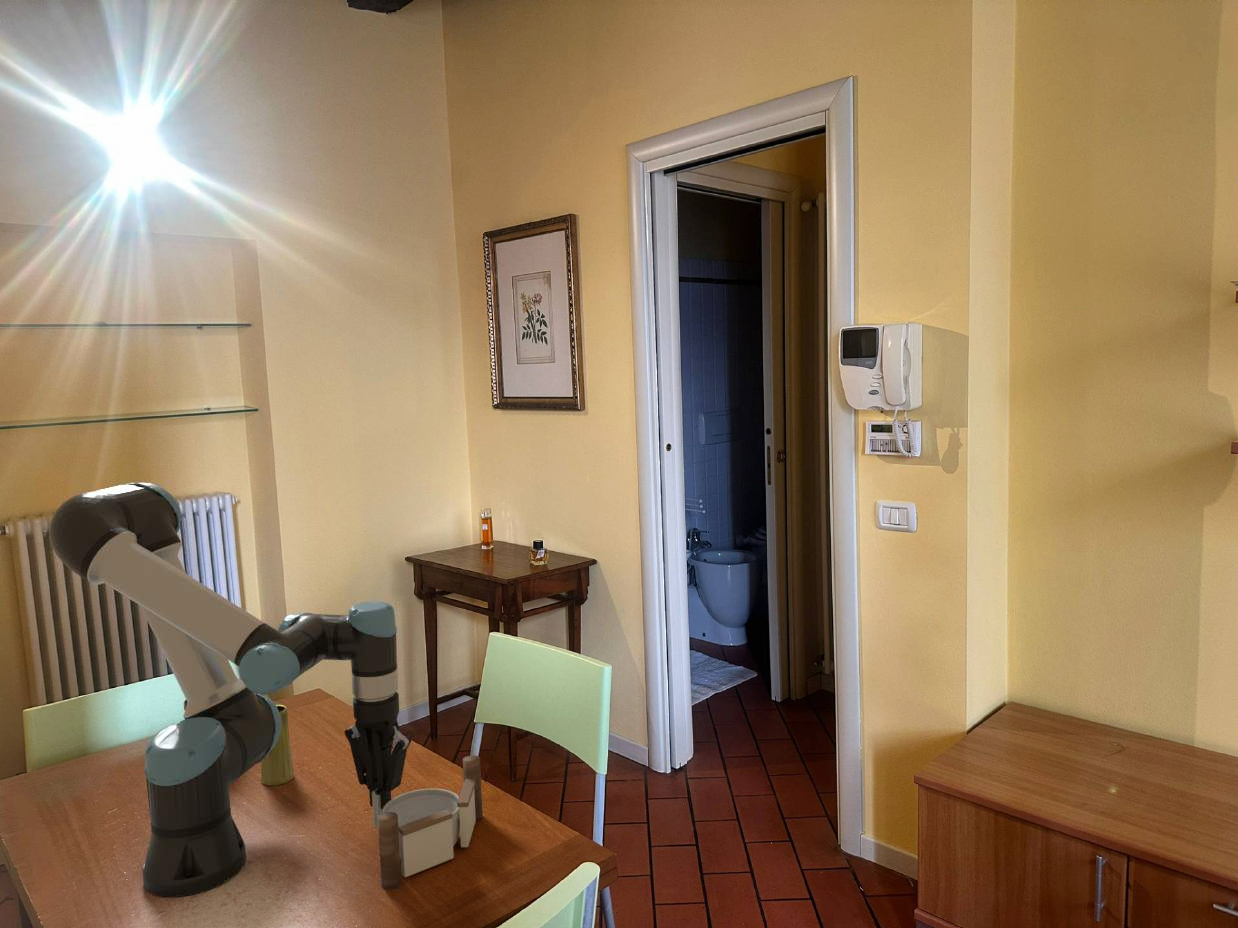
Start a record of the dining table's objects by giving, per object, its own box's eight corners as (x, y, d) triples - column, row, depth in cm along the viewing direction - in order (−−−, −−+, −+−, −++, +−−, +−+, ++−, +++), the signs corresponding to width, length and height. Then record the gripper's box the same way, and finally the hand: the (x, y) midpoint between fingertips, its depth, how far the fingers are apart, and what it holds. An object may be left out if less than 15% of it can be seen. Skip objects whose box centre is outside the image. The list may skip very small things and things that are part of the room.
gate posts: (392, 890, 138) (388, 823, 136) (377, 886, 139) (373, 819, 138) (486, 815, 160) (483, 756, 159) (472, 812, 161) (469, 754, 160)
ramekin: (378, 834, 154) (376, 796, 154) (454, 818, 159) (452, 781, 158) (389, 874, 142) (387, 833, 141) (471, 855, 147) (469, 815, 146)
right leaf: (469, 846, 149) (467, 802, 148) (459, 847, 149) (456, 802, 148) (477, 820, 157) (475, 778, 156) (467, 820, 157) (465, 778, 156)
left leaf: (405, 878, 140) (403, 831, 139) (400, 873, 142) (398, 826, 141) (454, 858, 145) (452, 813, 144) (449, 853, 147) (447, 808, 146)
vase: (287, 785, 173) (281, 715, 172) (255, 786, 174) (250, 715, 172) (298, 771, 179) (294, 703, 178) (268, 771, 180) (263, 703, 178)
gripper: (419, 691, 152) (424, 822, 155) (362, 680, 158) (367, 806, 161) (390, 707, 145) (396, 843, 148) (331, 695, 151) (337, 826, 154)
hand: (381, 824), depth 154 cm, fingers closed
